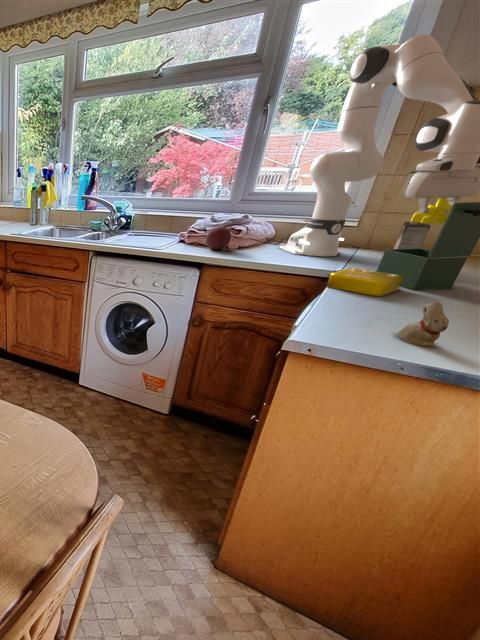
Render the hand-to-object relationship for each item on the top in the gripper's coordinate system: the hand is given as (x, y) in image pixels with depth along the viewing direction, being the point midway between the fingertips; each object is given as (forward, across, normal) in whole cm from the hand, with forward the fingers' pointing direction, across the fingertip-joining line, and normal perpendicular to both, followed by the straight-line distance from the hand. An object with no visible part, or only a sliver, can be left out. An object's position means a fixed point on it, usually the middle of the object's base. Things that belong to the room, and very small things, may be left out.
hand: (433, 213), depth 135 cm
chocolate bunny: (+22, +43, +48) cm, 68 cm away
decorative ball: (+21, +30, -62) cm, 72 cm away
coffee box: (+22, -13, -16) cm, 30 cm away
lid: (+4, -1, +10) cm, 10 cm away
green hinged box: (+22, 0, +2) cm, 22 cm away
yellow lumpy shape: (+3, 0, 0) cm, 3 cm away
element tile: (+22, +19, +5) cm, 29 cm away
